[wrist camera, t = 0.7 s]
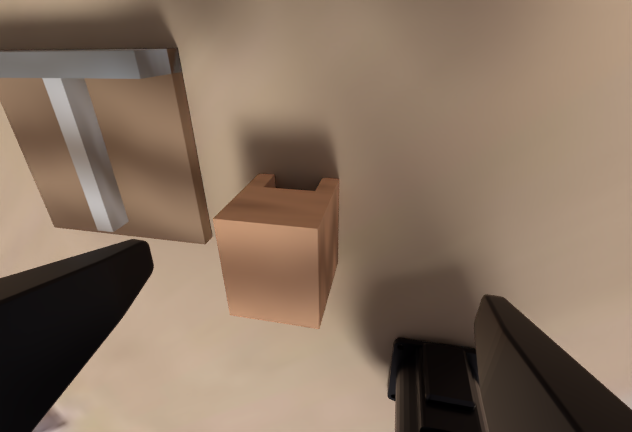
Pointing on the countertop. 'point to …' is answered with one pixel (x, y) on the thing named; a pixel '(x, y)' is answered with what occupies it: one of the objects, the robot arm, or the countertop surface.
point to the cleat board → (108, 139)
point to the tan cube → (279, 251)
